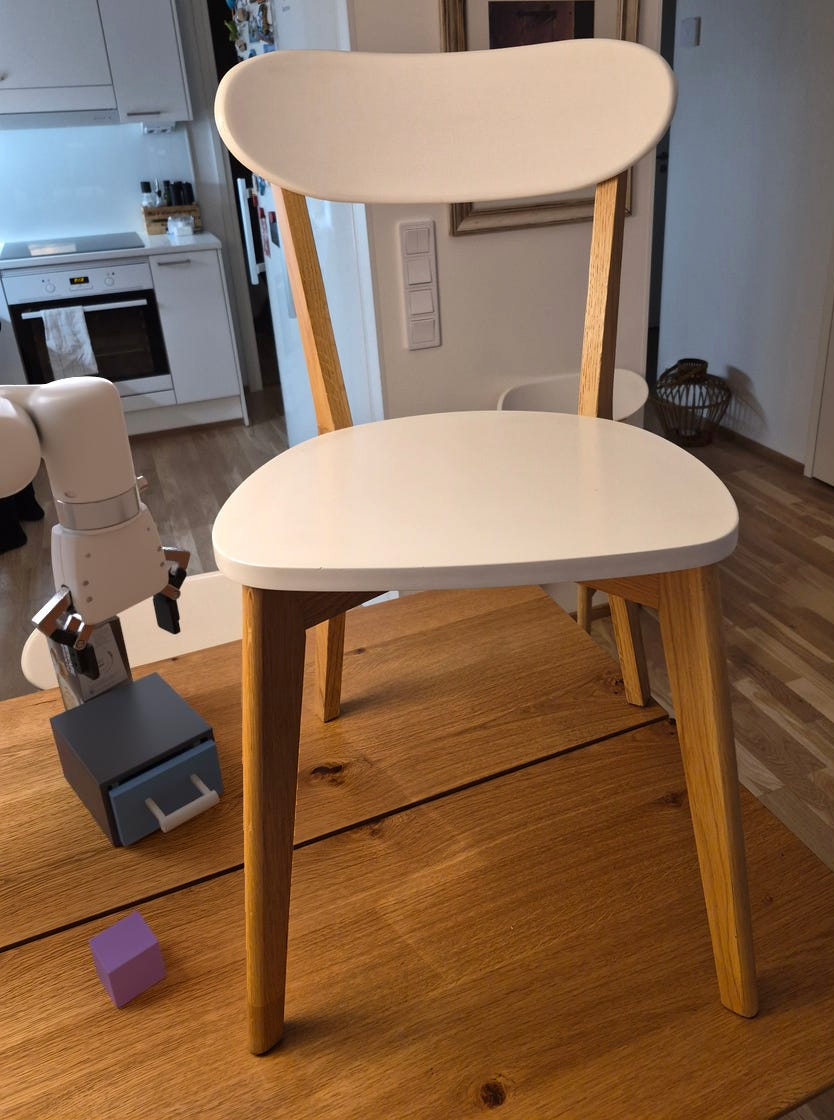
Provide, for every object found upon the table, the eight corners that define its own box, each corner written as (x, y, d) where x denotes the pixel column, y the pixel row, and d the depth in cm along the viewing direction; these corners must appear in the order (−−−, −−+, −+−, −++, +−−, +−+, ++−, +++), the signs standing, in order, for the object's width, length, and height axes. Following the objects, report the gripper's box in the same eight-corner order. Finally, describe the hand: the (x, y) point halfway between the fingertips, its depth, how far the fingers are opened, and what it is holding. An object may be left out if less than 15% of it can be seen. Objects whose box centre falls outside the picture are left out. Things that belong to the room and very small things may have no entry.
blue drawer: (247, 816, 93) (239, 767, 90) (146, 876, 86) (134, 825, 83) (171, 734, 105) (162, 689, 103) (77, 781, 98) (64, 733, 95)
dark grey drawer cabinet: (222, 787, 98) (212, 727, 95) (114, 847, 90) (98, 784, 87) (167, 727, 108) (155, 671, 104) (64, 777, 100) (48, 718, 97)
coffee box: (145, 725, 108) (122, 617, 102) (95, 751, 104) (68, 640, 98) (112, 695, 114) (88, 591, 108) (63, 718, 110) (36, 611, 103)
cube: (117, 1009, 74) (107, 974, 72) (97, 975, 77) (87, 940, 75) (167, 976, 77) (159, 941, 75) (145, 944, 80) (137, 909, 78)
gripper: (151, 468, 92) (177, 604, 98) (-10, 529, 79) (32, 681, 85) (196, 483, 88) (219, 624, 94) (34, 550, 75) (75, 708, 81)
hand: (130, 651), depth 90 cm, fingers open, 9 cm apart
